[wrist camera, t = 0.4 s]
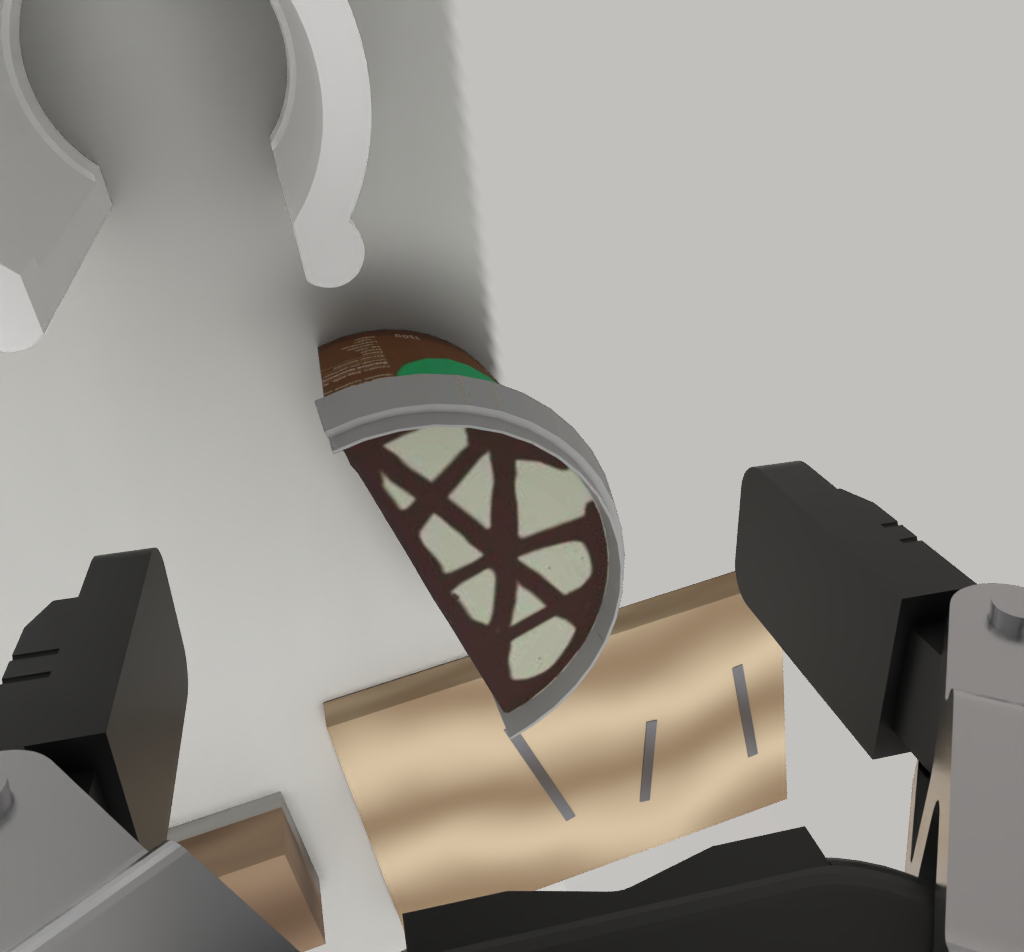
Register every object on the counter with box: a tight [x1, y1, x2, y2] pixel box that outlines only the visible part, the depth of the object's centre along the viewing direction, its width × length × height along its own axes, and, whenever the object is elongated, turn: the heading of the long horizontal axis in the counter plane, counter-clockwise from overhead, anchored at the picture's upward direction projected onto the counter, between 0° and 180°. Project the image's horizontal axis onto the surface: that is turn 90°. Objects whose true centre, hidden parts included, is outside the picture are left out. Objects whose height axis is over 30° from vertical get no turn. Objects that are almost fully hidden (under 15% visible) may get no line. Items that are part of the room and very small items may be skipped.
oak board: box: [323, 571, 787, 929], centre depth 42 cm, size 14×20×2 cm
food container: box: [315, 330, 625, 739], centre depth 29 cm, size 12×6×10 cm, turn 23°
